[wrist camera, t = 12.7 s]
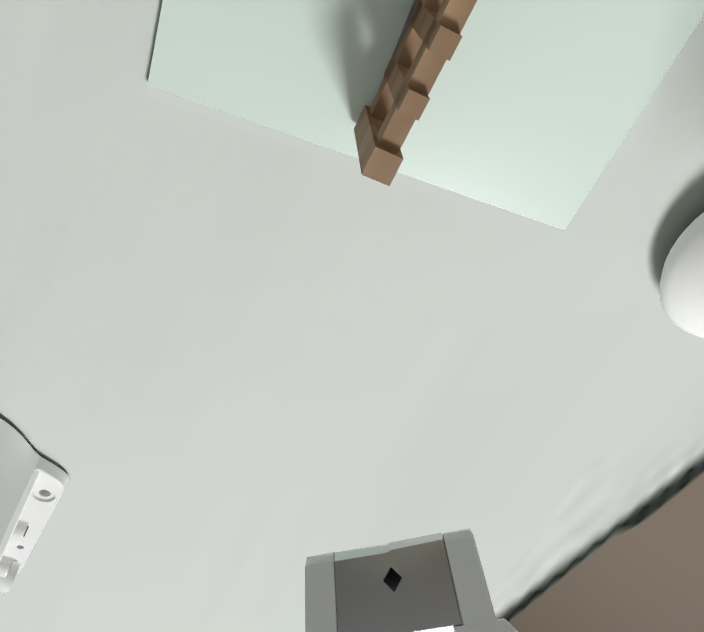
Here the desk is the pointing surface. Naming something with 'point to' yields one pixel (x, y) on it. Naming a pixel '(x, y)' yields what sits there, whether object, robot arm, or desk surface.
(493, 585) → the desk surface
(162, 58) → the card
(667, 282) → the flower in vase
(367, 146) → the fence gate
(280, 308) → the desk surface
